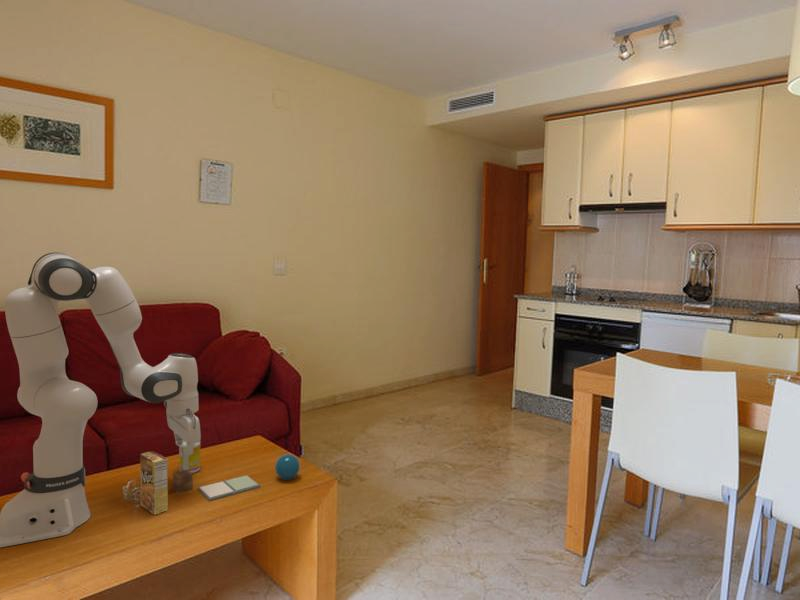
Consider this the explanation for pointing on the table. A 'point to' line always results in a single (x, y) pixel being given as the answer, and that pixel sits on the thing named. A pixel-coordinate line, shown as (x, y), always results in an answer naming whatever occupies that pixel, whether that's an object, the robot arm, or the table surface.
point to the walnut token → (182, 481)
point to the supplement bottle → (189, 458)
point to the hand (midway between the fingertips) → (184, 449)
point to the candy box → (154, 482)
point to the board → (228, 487)
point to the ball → (287, 466)
